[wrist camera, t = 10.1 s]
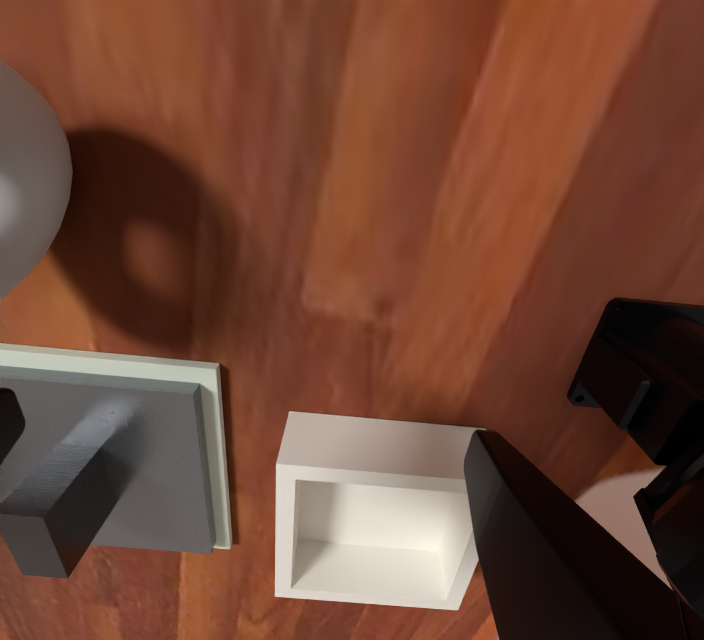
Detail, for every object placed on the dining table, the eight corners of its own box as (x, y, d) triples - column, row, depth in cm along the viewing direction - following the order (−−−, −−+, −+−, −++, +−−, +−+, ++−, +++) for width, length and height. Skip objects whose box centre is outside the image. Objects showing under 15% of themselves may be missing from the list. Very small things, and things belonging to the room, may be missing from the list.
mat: (219, 363, 21) (215, 369, 21) (232, 541, 28) (229, 549, 28) (-73, 336, 21) (-85, 342, 20) (15, 524, 28) (8, 531, 27)
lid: (199, 383, 21) (151, 460, 16) (216, 540, 27) (185, 629, 23) (-57, 360, 21) (-186, 432, 16) (20, 524, 27) (-56, 612, 22)
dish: (486, 428, 23) (509, 483, 19) (445, 549, 28) (457, 610, 25) (289, 411, 23) (276, 463, 19) (285, 537, 28) (275, 596, 25)
